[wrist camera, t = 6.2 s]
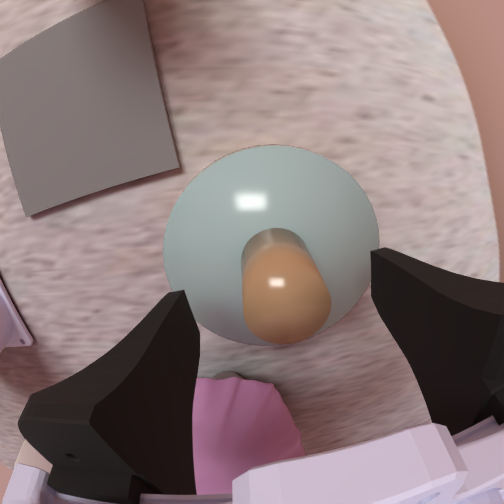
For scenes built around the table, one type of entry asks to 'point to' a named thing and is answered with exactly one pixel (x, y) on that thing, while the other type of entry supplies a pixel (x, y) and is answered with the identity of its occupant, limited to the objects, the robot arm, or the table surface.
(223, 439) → the toy character
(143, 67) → the mat
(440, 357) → the robot arm
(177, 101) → the table surface
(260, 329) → the lid
